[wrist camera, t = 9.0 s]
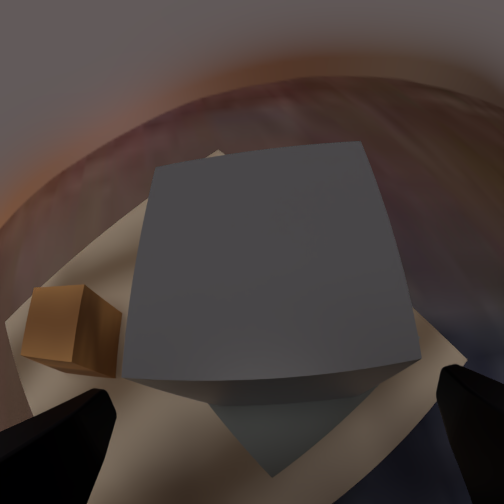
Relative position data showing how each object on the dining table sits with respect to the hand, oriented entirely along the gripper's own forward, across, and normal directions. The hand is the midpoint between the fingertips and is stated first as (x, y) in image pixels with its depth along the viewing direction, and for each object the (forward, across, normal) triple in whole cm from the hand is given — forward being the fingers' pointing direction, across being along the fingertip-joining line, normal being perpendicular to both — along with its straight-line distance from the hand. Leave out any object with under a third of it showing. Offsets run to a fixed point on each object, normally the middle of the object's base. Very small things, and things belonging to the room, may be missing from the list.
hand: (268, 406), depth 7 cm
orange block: (+8, +11, +3) cm, 14 cm away
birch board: (+8, +6, +3) cm, 10 cm away
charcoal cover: (+8, 0, +2) cm, 8 cm away
